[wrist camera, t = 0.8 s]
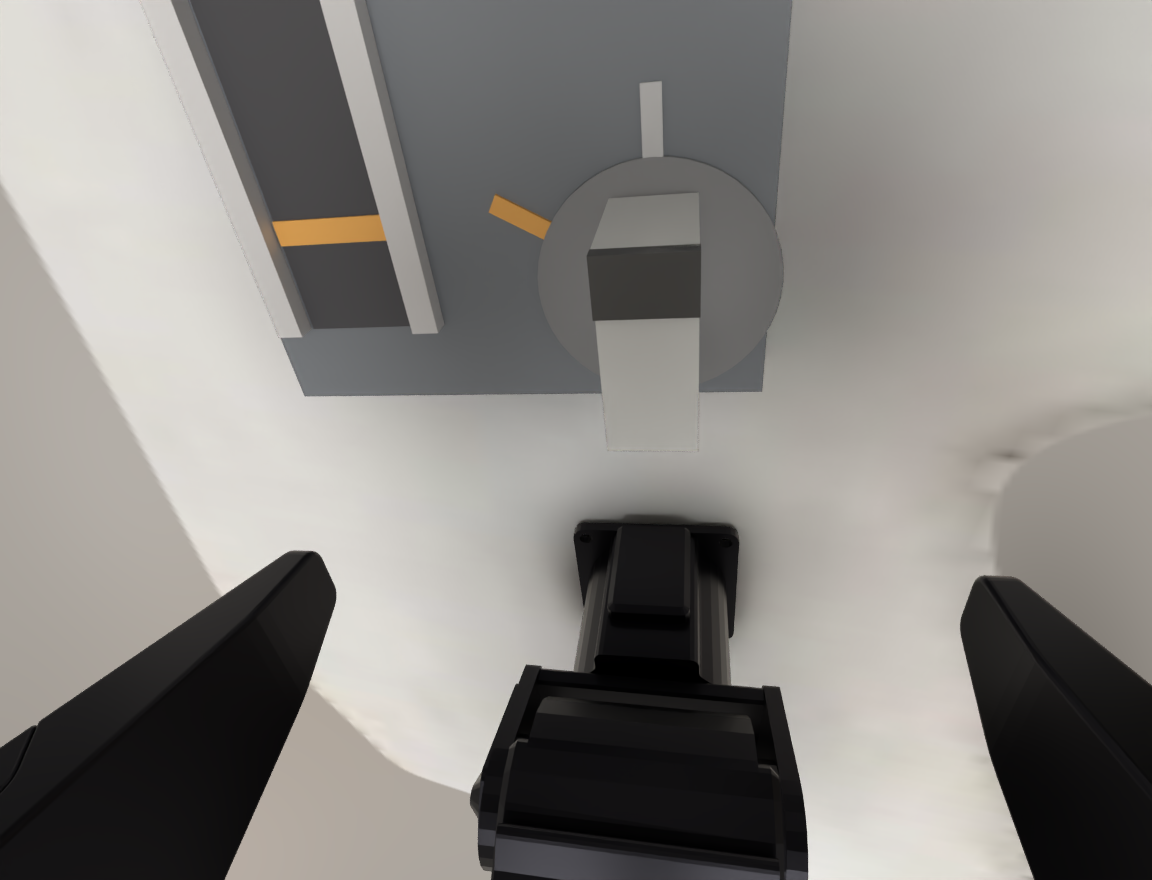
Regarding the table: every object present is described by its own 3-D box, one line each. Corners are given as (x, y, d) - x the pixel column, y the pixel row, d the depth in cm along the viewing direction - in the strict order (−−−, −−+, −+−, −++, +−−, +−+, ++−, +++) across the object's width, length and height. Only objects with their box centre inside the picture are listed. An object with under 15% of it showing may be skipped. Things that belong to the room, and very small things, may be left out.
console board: (766, 358, 21) (774, 402, 18) (331, 367, 23) (295, 406, 21) (836, -537, 11) (871, -658, 9) (68, -340, 13) (-46, -396, 11)
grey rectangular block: (697, 368, 19) (699, 456, 15) (620, 369, 19) (605, 455, 16) (699, 189, 16) (701, 251, 12) (609, 195, 16) (586, 256, 13)
